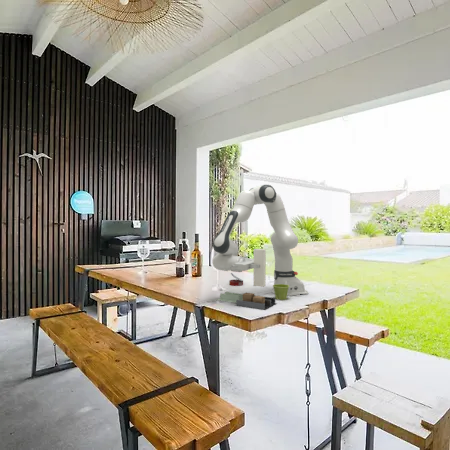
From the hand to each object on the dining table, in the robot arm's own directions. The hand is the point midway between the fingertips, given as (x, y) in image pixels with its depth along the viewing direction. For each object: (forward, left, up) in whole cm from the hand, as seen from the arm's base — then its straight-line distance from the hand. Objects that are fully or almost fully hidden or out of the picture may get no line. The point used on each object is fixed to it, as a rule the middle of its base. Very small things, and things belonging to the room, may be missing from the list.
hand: (261, 265), depth 192 cm
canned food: (+3, -59, -22) cm, 63 cm away
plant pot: (-14, -9, -22) cm, 28 cm away
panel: (+1, -1, -11) cm, 11 cm away
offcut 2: (+3, +7, -20) cm, 22 cm away
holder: (+14, -11, -22) cm, 28 cm away
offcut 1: (+8, +3, -20) cm, 22 cm away
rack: (+3, +3, -22) cm, 22 cm away
